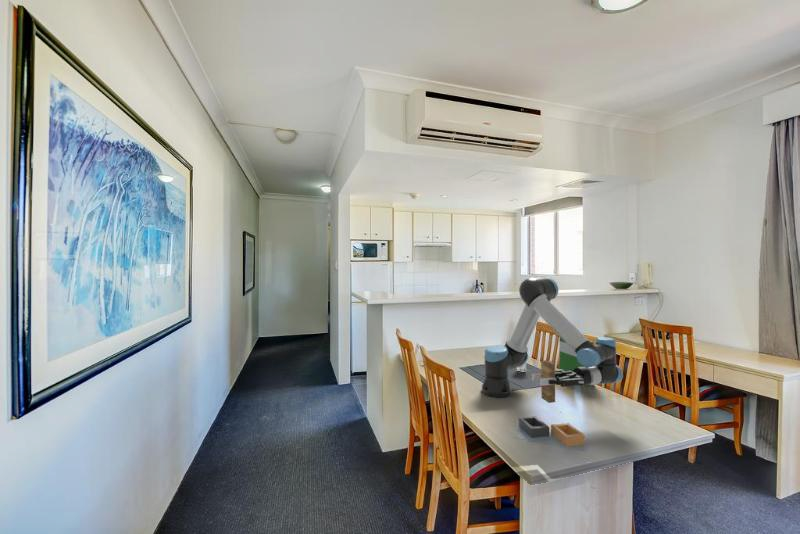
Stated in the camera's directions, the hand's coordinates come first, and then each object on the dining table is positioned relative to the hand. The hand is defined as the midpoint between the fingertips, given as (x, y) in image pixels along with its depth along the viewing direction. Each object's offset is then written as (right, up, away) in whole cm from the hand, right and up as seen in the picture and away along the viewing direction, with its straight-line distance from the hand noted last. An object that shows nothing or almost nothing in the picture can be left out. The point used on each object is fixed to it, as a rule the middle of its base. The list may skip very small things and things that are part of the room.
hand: (536, 379), depth 139 cm
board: (+1, -20, -9) cm, 22 cm away
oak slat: (+5, -9, +1) cm, 10 cm away
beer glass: (+19, -19, +70) cm, 75 cm away
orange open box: (+7, -18, -12) cm, 23 cm away
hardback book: (+45, -19, +53) cm, 72 cm away
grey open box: (-4, -18, -6) cm, 20 cm away
